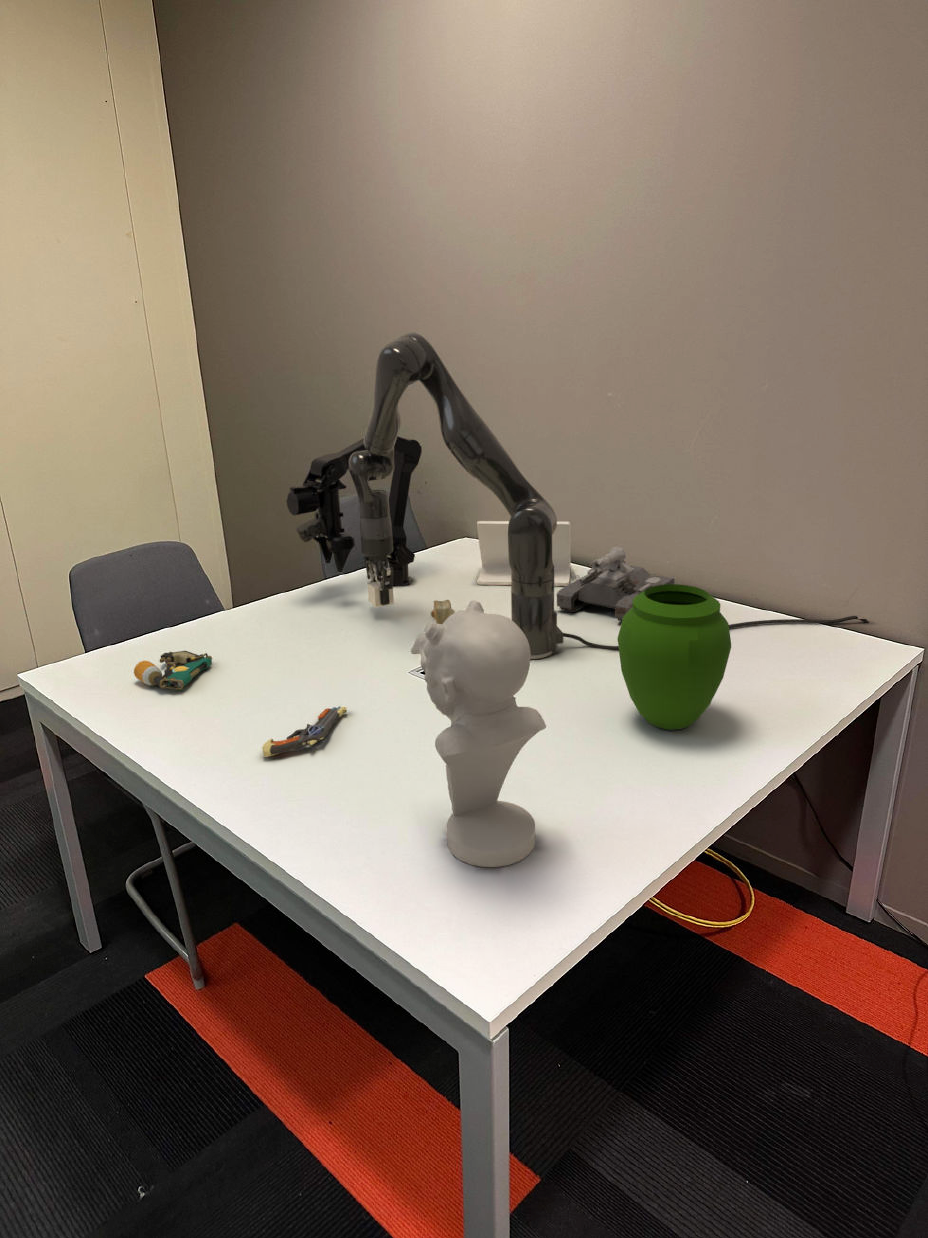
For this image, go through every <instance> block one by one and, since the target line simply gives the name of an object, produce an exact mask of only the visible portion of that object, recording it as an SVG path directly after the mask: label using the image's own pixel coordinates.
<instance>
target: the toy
mask: <svg viewBox="0 0 928 1238" xmlns="http://www.w3.org/2000/svg"><path fill="white" fill-rule="evenodd" d="M626 557H627V556H626V551H625V549H624V548H622V547H621V546H614V547H612V548H611V549H610V550H609V552H608V553H607V554H605V555H604V556H601V557H599V558H598V559H597V557H596V558H594V559H593V560H592V561H590V562H589V563H590V564H591V565H592V567H591V568H590V569H589V570H587V573H586V575H584V576H582V577H580V578H578V579H577V580H575V581H573V582H570V583H569V585H567V586H563V587H562V588H560V589H559V590H558V591H557V592H556V607H558V608H559V609H560V610H562V611H566V612H572V613H575V612H577V611H579V610H581V609H582V608H585V607H586V606H588V605H592V606H598V607H602V608H603V607H604V608H609V609H613V610H614V618H615V619H617V620H618V621H621V622H622V620H623V616H624V615H625V614H626V613H627V612H628V611H629V610H630V609H631V608H632V607H633V599H634V597H635V596H637V595H639V594H640V593H642V592H644V591H645V590H646V589H648V588H650V587H653V586H658V585H667V584H675V580H676V579H675V578H673V577H668V576H663V575H656V576H655V577H654V576H651V574H650V573H649V572H648V571H647V570H646V568H644V567H641V566H635V565H629V564H628V563H627V562H626V561H625V559H626Z"/></svg>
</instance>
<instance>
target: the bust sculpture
mask: <svg viewBox="0 0 928 1238" xmlns="http://www.w3.org/2000/svg"><path fill="white" fill-rule="evenodd" d="M454 612H455V613H453V614H452V615H451V616H450V617H448V618H447V619H446V620H445V622H444V623H443V624H436V623H435V622H430V623H428V624H427V625H426V626H425V628H424V632H423V633H421V634H419V635H418V636H417V637H416V638H415V640H414V642H413V645H412V647H411V649H410V654H412V655H420V667H421V669H422V670H423V672H424V681H425V682H426V690H427V693H428V696H429V698H430V701H431V702H432V704H434V706H435V708H436V710H438V711H439V712H440V713H441V714H442V716H446V717H447V718H448V719H449V720H450V726H448V727H446V728H445V729H443V730H442V731H441V732H440V733H439V734H438V735H436V738H435V741H434V748H435V749H436V752H437V753H438V755H439V757H440V758H441V760H442V761H443V762H444V763H445V771H446V781H447V790H448V796H449V800H450V803H451V810H452V813H451V814H450V815H449V817H448V819H447V822H446V844H447V847H448V849H449V851H450V852H451V854H452V855H453V856H454V857H456V858H457V859H459V860H460V861H462V862H463V863H466V864H469V865H471V866H476V867H483V868H498V867H505V866H509V865H512V864H517V862H520V861H521V860H523V859H525V858H527V856H528V855H530V854H531V852H532V851H533V849H535V848H534V847H535V845H536V822H535V821H536V820H535V819H534V817H533V816H532V814H531V813H530V812H529V811H528V810H526V809H525V808H524V807H522V806H520V805H517V804H515V803H513V802H509V801H504V800H499V796H500V793H501V790H502V788H503V785H504V783H505V780H506V778H507V776H508V773H509V771H510V769H511V768H512V765H513V763H514V761H515V760H516V759H517V756H518V755H519V753H520V752H521V750H522V749H523V748H524V747H525V745H526V744H527V743H528V742H529V741H530V740H531V739H532V738H533V737H535V735H537V734H538V733H539V732H541V731H544V730H545V729H546V728H547V725H546V723H545V720H544V718H543V717H542V714H541V713H540V712H539V711H538V710H537V709H535V708H533V707H530V706H518V705H517V701H516V699H517V698H516V696H515V695H516V694H517V693H519V691H521V689H522V688H523V686H524V684H525V683H526V680H527V678H528V675H529V669H530V666H531V659H530V656H531V655H530V653H531V652H530V646H529V643H528V640H527V638H526V636H525V634H524V633H523V632H522V630H521V629H520V628H519V627H518V626H517V625H516V624H515V623H514V622H513V621H512V620H511V618H508V617H507V616H504V615H503V614H502V615H501V614H496V613H485V609H484V607H483V605H482V603H481V602H480V601H478V600H473V599H472V600H470V601H469V603H468V605H467V607H466V609H460V610H457V611H454Z"/></svg>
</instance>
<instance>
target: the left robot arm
mask: <svg viewBox="0 0 928 1238" xmlns="http://www.w3.org/2000/svg"><path fill="white" fill-rule="evenodd" d="M422 449H423V447H422V445H421V444H420V442H419V441H418V440H416V439H414V438H413V439H412V438H407V437H401V436H398V437H397V440H396V442H395V445H394V471H393V473H392V475H391V483H390V484H391V485H390V490H389V495H388V497H389V509H390V519H391V525H392V539H393V552H392V553H391V554H389V555H387V560H388V562H389V567H393V569H394V570H393V586H411V581H412V576H410V571H409V565H410V564H412V563H414V562H415V557H416V554H415V553H414V552H412V551H411V549H410V548H408V546H407V545H408V544H407V542H408V541H407V539H408V537H407V534H406V531H405V527H404V524H405V517H406V512H407V505H408V498H409V492H410V486H411V479H412V474H413V472H414V471H415V469H416V468H417V466H418V465H419V464H420V459H421V457H422V453H423V452H422V451H423V450H422ZM365 450H366V448H365V446H364V437H363V438H362V439H360V440H358V441H356V442H354V443H352V444H351V445H348V446H347V447H345V448H344V449H342V450H340V451H337V452H333V453H328V454H324V455H322V456H318V457H315V458H314V459H313V460H312V461H311V463H310V464H311V465H310V469H309V471H308V472H307V475H306V476H305V478H304V481H303V483H302V485H301V486H290V487H289V493H287V497H286V500H285V501H286V507H287V510H288V511H289V513H290V514H291V515H292V516H299V515H303V514H304V515H305V514H309V513H313V512H314V518H313V519H310V520H307V521H305V522H304V523H302V524H300V525H297V527H296V528H295V530H296V532H297V534H298V536H299V538H300V540H301V541H303V542H304V543H309V542H311V540H314V541H315V542H317V543H318V545H319V548H320V551H321V553H322V556H323V559H324V562H325V563H326V564H330V563H331V561H332V557H333V560H334V564H335V567H336V571H337V573H342V572H343V570H344V567H345V566H346V562H347V560H348V557H349V555H350V553H351V551H352V550H353V549H354V547H356V543H355V541H356V540H355V538H354V537H353V536H351V535H350V534H348V533H347V532H346V531H345V527H343V526H342V518H343V517H344V512H343V511H342V510H341V501H340V490H345V489H347V485H345V484H344V483H343V482H342V481H341V480H340V479H341V478H343V477H344V476H345V475H346V474H347V472H348V470H349V467H348V463H349V459H350V456H351V455H352V454H353V453H354V452H357V451H365Z"/></svg>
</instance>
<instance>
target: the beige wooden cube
mask: <svg viewBox="0 0 928 1238" xmlns="http://www.w3.org/2000/svg"><path fill="white" fill-rule="evenodd" d="M381 582H382V581H381ZM385 585H386V583H385ZM367 594H368V595H367V596H368V603H369V604H371V605H372V606H373V607H374V608H380V607H384V606H390V605H394V604H395V599H394V588H393V589H389V599H390V603H389V604H386V605H382V604H380V592H379V585H378V582H371V583H370V582H367Z"/></svg>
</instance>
